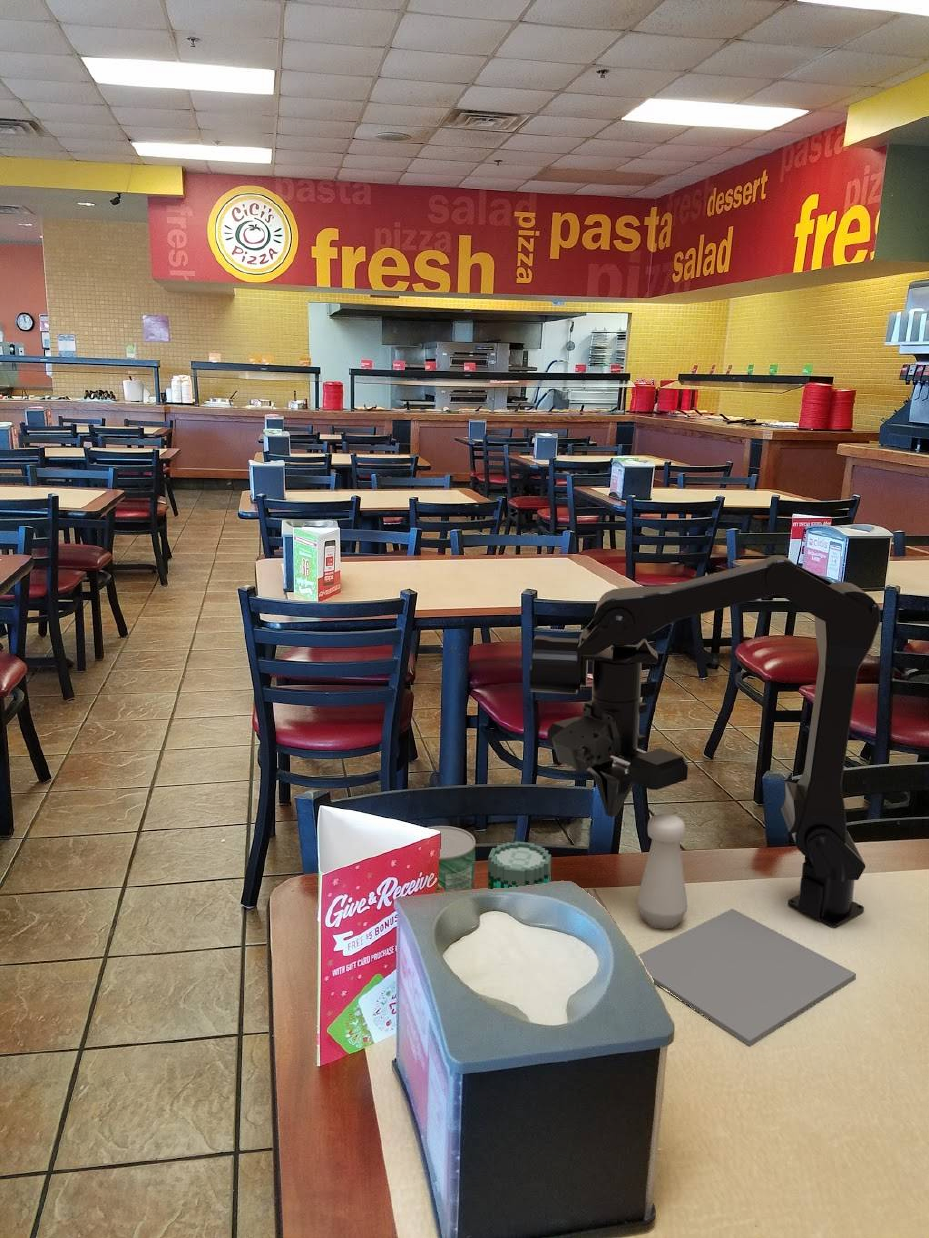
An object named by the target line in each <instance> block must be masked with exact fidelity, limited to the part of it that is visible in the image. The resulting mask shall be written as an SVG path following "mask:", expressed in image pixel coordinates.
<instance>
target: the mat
mask: <svg viewBox="0 0 929 1238" xmlns="http://www.w3.org/2000/svg"><path fill="white" fill-rule="evenodd" d="M637 955H638V956H640V958H641V959H642V961H643V963H644V966H645V967H646V969H647V971H648V972H649V974H650V975H651V976H652V978H653V980H654V983H653V984H654V985H656V986H657V987H659V986H661V987H663V988H665V989H667V990H668V991H670V993H672V994H673V995H675V996H676V997H678V998H679V999H680V1000H682V1001H683V1002H684V1003H686V1004H687V1005H689V1006H691V1007H692V1008H693V1009H695V1010H696V1011H695V1010H694V1011H695V1012H696V1013H698V1012H699V1013H698V1014H700V1015H701V1014H703V1015H704V1016H705V1017H704V1016H703V1015H702V1016H703V1017H704V1018H706V1017H707V1018H708V1019H707V1018H706V1019H707V1020H709V1019H710V1020H709V1021H711V1022H712V1023H713V1024H715V1025H716V1026H718V1027H719V1028H721V1029H723V1031H726V1032H727V1033H729V1034H730V1035H731V1036H733V1037H734V1038H736V1039H737V1040H738V1041H740V1042H742V1043H743V1044H745V1045H746V1046H748V1047H751V1046H752V1045H754V1044H755V1043H757V1042H759V1041H760V1040H761V1039H763V1038H765V1037H766V1036H768V1035H769V1034H771V1033H773V1032H774V1031H776V1030H778V1029H779V1028H780V1027H782V1026H783V1025H785V1024H787V1023H788V1022H790V1021H792V1020H793V1019H795V1018H796V1017H797V1016H799V1015H801V1014H802V1013H804V1012H805V1011H807V1010H809V1009H810V1008H812V1007H813V1006H816V1005H817V1004H818V1003H819V1002H821V1001H823V1000H824V999H826V998H827V997H829V996H830V995H832V994H834V993H835V992H837V991H838V990H840V989H841V988H843V987H844V986H846V985H848V984H849V983H851V982H853V981H854V980H856V977H857V973H856V972H854V971H852V970H850V969H848V968H846V967H844V966H842V965H841V964H838V963H836V962H835V961H833V960H831V959H829V958H828V957H825V956H823V955H822V954H819V953H818V952H816V951H814V950H812V949H810V948H808V947H806V946H805V945H802V944H800V943H798V942H797V941H795V940H793V939H791V938H789V937H787V936H785V935H783V934H782V933H779V932H778V931H776V930H773V928H770V927H768V926H767V925H764V924H762V923H760V922H759V921H757V920H755V919H754V918H753V919H752V917H749V916H747V915H746V914H744V913H741V912H739V911H738V910H736V909H734V908H731V909H729V910H727V911H725V912H723V913H721V914H718V915H716V916H715V917H713V918H711V919H708V920H706V921H705V922H703V923H700V924H697V925H696V926H694V927H691V928H690V929H687V930H686V931H684V932H681V933H680V934H678V935H676V936H673V937H672V938H670V939H667V940H665V941H664V942H661V943H660V944H658V945H655V946H653V947H652V948H649V949H647V950H645V951H643V952H641V953H639V954H637ZM657 984H658V985H659V986H658V985H657ZM680 1000H679V1001H680ZM683 1002H682V1003H683ZM684 1003H683V1004H684ZM686 1004H685V1005H686ZM687 1005H686V1006H687ZM689 1006H688V1007H689ZM692 1008H691V1009H692Z"/></svg>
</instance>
